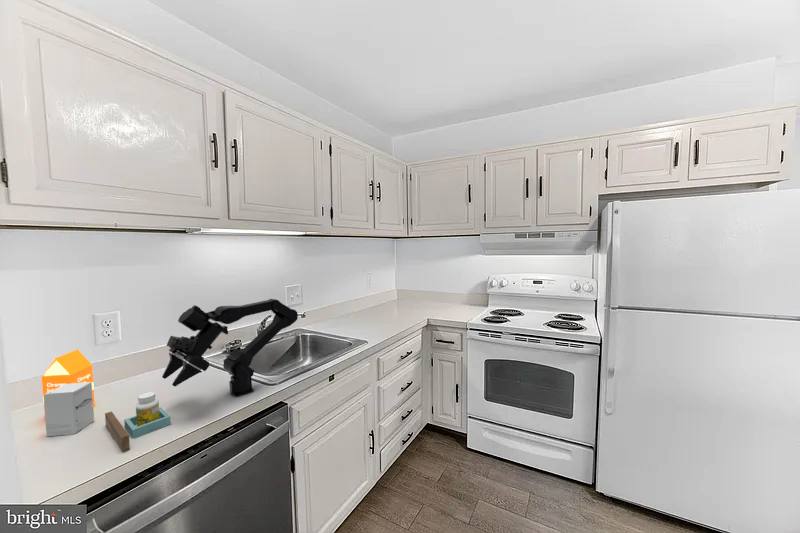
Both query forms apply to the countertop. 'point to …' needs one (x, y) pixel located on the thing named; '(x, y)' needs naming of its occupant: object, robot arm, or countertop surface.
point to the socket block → (146, 427)
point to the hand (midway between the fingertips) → (168, 381)
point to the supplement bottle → (147, 408)
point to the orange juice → (67, 372)
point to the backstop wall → (117, 431)
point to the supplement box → (68, 408)
